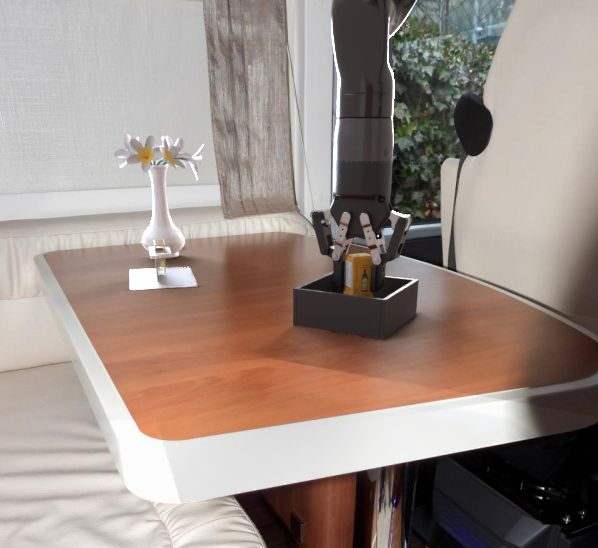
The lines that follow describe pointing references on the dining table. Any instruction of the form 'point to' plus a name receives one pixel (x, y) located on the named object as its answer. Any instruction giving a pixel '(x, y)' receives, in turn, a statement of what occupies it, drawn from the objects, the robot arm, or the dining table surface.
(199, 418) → the dining table surface
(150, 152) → the flower vase
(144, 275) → the platform
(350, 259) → the supplement box
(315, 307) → the basket
